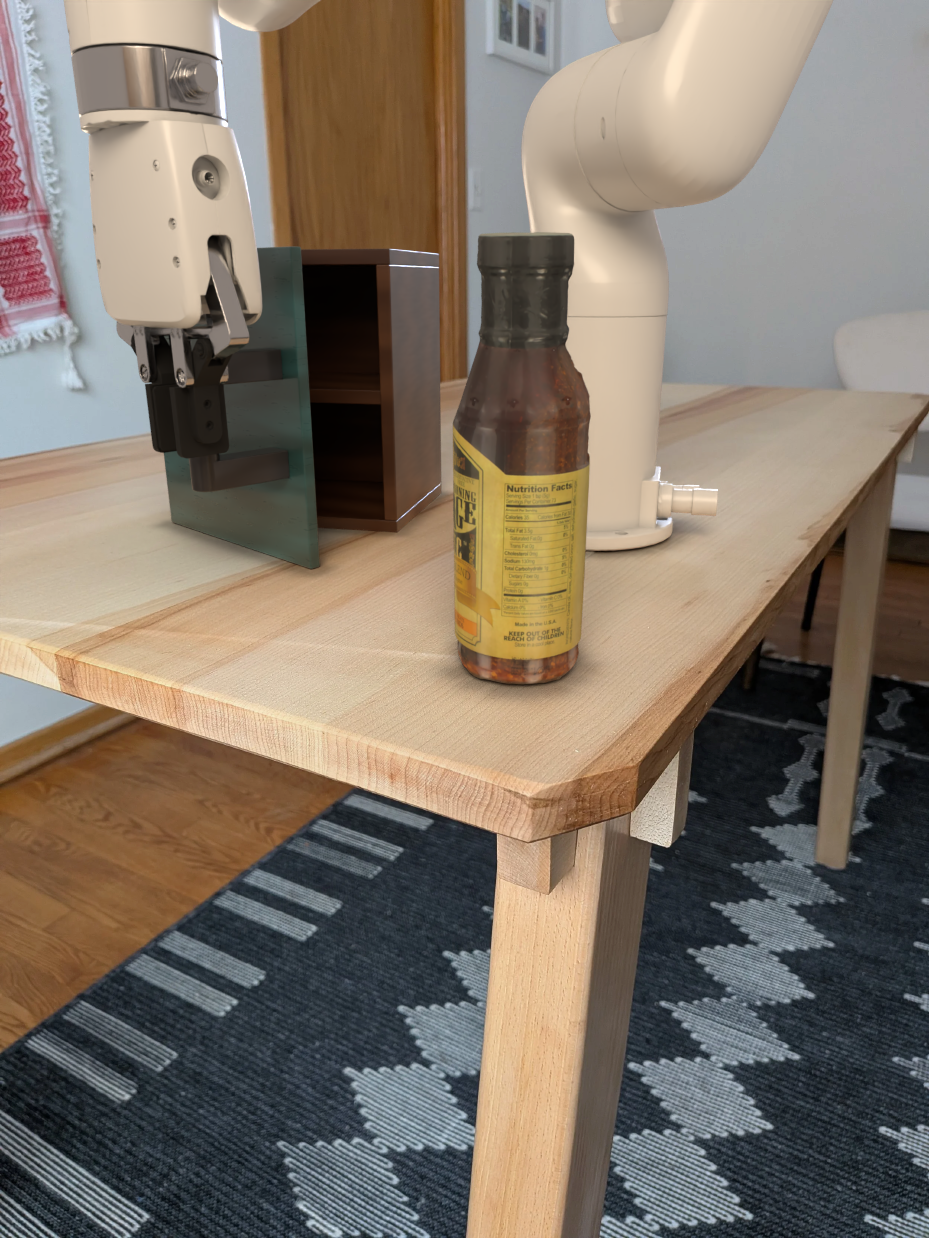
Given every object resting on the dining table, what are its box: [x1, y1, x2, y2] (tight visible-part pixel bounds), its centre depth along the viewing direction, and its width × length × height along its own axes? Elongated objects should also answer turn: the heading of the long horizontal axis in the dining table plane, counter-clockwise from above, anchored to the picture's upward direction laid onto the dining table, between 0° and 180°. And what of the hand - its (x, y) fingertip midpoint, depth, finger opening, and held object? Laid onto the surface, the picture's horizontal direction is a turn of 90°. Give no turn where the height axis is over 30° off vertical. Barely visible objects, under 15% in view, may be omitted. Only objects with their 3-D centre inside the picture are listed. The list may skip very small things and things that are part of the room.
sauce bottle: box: [452, 232, 591, 685], centre depth 42 cm, size 7×6×20 cm
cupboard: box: [301, 248, 442, 533], centre depth 74 cm, size 14×18×20 cm
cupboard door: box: [163, 245, 321, 570], centre depth 60 cm, size 7×18×20 cm, turn 46°
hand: (191, 449), depth 54 cm, fingers closed on cupboard door, 2 cm apart
